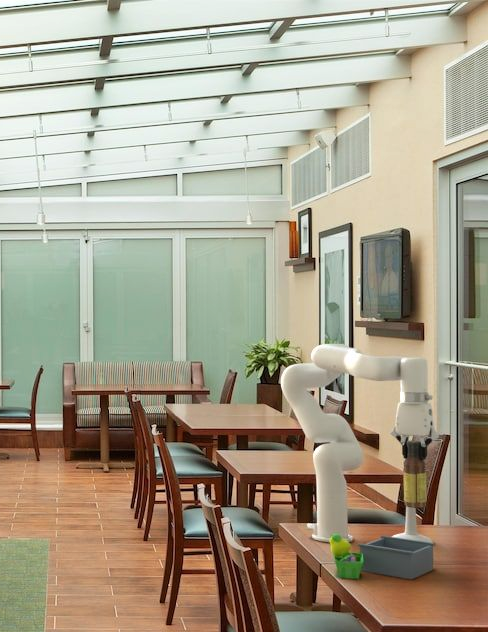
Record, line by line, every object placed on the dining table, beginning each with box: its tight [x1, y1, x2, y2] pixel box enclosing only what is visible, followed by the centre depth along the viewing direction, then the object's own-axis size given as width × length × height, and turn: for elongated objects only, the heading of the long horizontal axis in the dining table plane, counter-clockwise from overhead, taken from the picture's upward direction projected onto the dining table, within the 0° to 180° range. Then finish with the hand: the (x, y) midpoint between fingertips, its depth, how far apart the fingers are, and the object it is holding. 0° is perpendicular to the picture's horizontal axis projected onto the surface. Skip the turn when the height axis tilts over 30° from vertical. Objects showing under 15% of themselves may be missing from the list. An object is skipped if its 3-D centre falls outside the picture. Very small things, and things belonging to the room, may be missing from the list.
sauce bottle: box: [403, 440, 428, 509], centre depth 289 cm, size 7×6×20 cm
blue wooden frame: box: [357, 534, 436, 580], centre depth 275 cm, size 15×16×8 cm
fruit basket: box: [329, 534, 363, 580], centre depth 270 cm, size 11×9×11 cm
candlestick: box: [391, 505, 434, 543], centre depth 312 cm, size 13×13×30 cm
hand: (414, 458), depth 290 cm, fingers closed on sauce bottle, 4 cm apart
